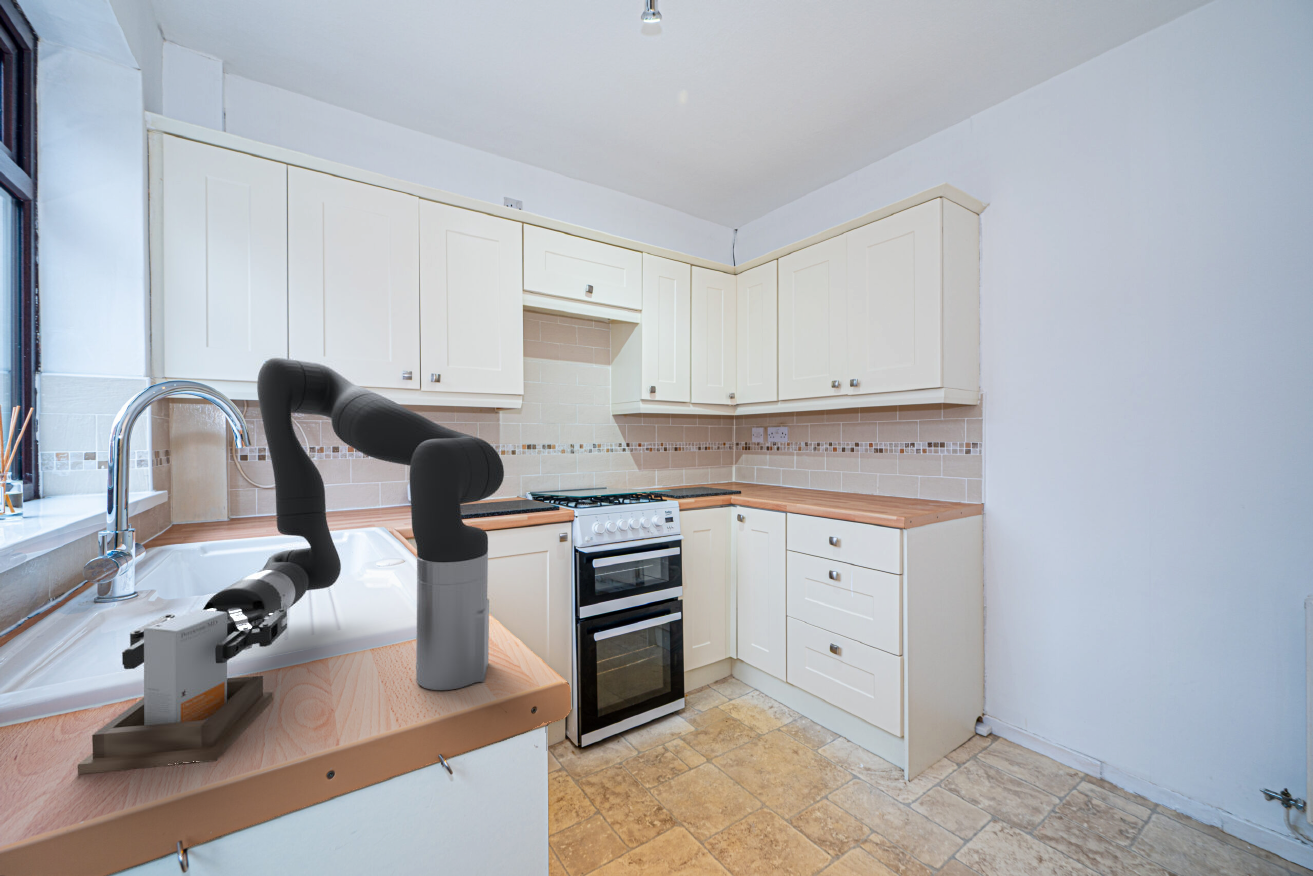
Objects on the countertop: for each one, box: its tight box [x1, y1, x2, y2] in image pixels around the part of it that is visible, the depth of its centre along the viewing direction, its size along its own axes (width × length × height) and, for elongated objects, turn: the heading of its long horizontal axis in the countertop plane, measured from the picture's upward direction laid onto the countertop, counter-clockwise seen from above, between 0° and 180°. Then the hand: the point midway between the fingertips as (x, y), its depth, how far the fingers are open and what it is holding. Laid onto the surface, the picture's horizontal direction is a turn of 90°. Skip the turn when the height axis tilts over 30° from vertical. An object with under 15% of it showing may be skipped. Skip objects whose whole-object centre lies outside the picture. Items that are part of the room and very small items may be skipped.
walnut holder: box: [77, 675, 274, 775], centre depth 60 cm, size 12×12×4 cm
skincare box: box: [143, 608, 228, 725], centre depth 60 cm, size 6×4×12 cm
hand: (174, 657), depth 58 cm, fingers open, 8 cm apart
